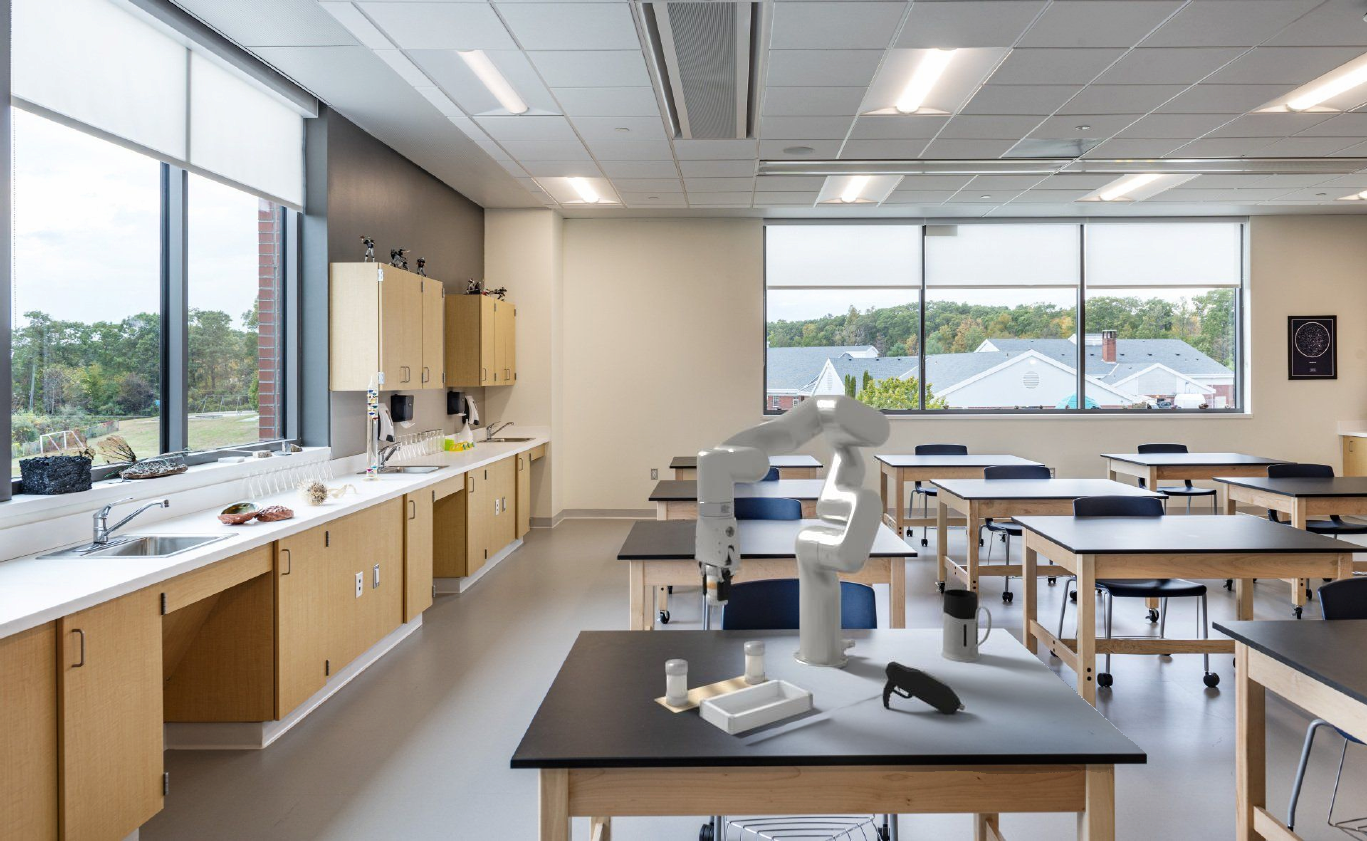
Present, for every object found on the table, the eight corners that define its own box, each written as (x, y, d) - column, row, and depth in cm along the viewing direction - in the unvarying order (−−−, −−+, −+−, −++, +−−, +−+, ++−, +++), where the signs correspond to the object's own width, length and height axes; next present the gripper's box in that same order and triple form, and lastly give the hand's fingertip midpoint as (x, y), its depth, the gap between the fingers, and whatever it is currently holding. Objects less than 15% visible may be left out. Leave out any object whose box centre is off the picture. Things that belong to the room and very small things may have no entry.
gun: (946, 743, 152) (971, 700, 151) (870, 700, 155) (894, 657, 153) (944, 737, 155) (968, 694, 154) (869, 695, 157) (893, 652, 156)
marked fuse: (719, 599, 165) (718, 561, 164) (731, 603, 161) (731, 565, 161) (702, 602, 162) (701, 564, 162) (714, 607, 158) (714, 568, 158)
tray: (779, 697, 161) (779, 678, 161) (813, 714, 153) (812, 693, 153) (699, 721, 150) (699, 700, 150) (731, 740, 142) (731, 718, 141)
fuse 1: (680, 696, 160) (679, 657, 159) (692, 703, 156) (691, 664, 156) (661, 701, 157) (661, 662, 157) (673, 708, 153) (673, 668, 153)
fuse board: (754, 677, 173) (754, 672, 173) (777, 688, 166) (777, 683, 166) (653, 704, 158) (653, 699, 158) (675, 717, 152) (675, 712, 152)
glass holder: (962, 648, 191) (962, 587, 190) (1005, 667, 178) (1005, 601, 177) (933, 652, 188) (933, 590, 187) (974, 672, 174) (974, 605, 174)
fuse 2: (756, 676, 171) (756, 639, 170) (769, 682, 167) (769, 645, 167) (740, 680, 168) (740, 643, 168) (753, 686, 165) (753, 649, 164)
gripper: (755, 512, 156) (756, 603, 157) (706, 503, 170) (708, 586, 171) (725, 516, 152) (726, 609, 152) (678, 506, 166) (679, 591, 166)
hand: (716, 596), depth 161 cm, fingers closed on marked fuse, 4 cm apart
